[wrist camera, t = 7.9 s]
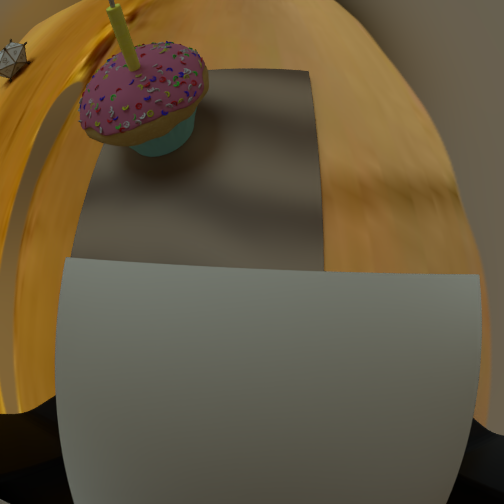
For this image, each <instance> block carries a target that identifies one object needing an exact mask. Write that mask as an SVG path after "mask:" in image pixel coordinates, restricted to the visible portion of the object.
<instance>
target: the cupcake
mask: <svg viewBox="0 0 504 504" xmlns="http://www.w3.org/2000/svg"><path fill="white" fill-rule="evenodd" d="M109 3H110V7H108V8H107V10H106V11H107V14H108V17H109V19H110V22H111V25H112V28H113V30H114V33H115V35H116V38H117V41H118V43H119V46H120V48H121V53H118V54H117V55H112V58H110V59H108V60H107V63H106V64H104V65H103V66H102V67H101V68H100V69H98V70H97V71H96V74H95V75H93V77H92V79H91V81H90V82H89V84H87V86H86V90H85V92H83V94H82V98H81V99H80V102H79V104H80V108H79V110H78V111H80V120H79V122H80V123H81V126H82V128H83V129H84V130H85V131H86V133H87V135H88V136H89V137H90V138H92V139H94V140H97V141H99V142H102V143H105V144H109V145H113V146H124V147H130V148H132V149H133V150H135V151H136V152H138V153H139V154H141V155H143V156H148V157H157V156H162V155H165V154H168V153H170V152H173V151H174V150H176V149H178V148H179V147H180V146H182V145H183V144H184V143H185V142H186V141H187V140H188V138H189V137H190V135H191V133H192V131H193V128H194V119H195V113H196V109H197V106H198V104H199V103H200V102H201V100H202V99H203V98H204V96H205V95H206V93H207V92H208V89H209V74H208V70H207V67H206V66H205V63H204V61H203V59H202V58H201V57H200V55H199V54H198V52H197V51H196V49H195V51H194V50H193V49H192V48H188V47H185V46H183V45H181V44H174V43H173V42H167V41H166V43H164V42H161V43H155V44H154V42H153V43H151V44H149V45H145V44H142V45H137V46H135V47H134V45H133V42H132V39H131V37H130V34H129V31H128V27H127V24H126V21H125V18H124V15H123V12H122V9H121V6H120V4H115V3H114V0H109Z"/></svg>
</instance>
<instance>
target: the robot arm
mask: <svg viewBox="0 0 504 504" xmlns="http://www.w3.org/2000/svg"><path fill="white" fill-rule="evenodd" d="M0 504H74V501H73V498H72V494H71V490H70V487H69V483H68V478H67V474H66V469H65V465H64V459H63V454H62V448H61V442H60V434H59V426H58V417H57V405H56V395H55V396H54V397H52V398H51V399H49V400H47V401H46V402H44V403H43V404H41V405H39V406H38V407H36V408H34V409H32V410H30V411H28V412H24V413H20V414H0ZM446 504H504V436H503V435H499V434H496V433H493V432H491V431H489V430H487V429H486V428H485V427H483V426H482V425H481V424H480V423H479V422H477V421H476V420H475V419H474V418H473V419H472V424H471V428H470V433H469V437H468V441H467V445H466V449H465V452H464V456H463V459H462V462H461V465H460V468H459V471H458V474H457V477H456V480H455V483H454V485H453V488H452V491H451V493H450V496H449V498H448V500H447V503H446Z"/></svg>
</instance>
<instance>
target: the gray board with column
mask: <svg viewBox="0 0 504 504" xmlns="http://www.w3.org/2000/svg"><path fill="white" fill-rule="evenodd" d="M208 74H209V89H208V92H207V93H206V95H205V96H204V98H203V99H202V100H201V102H200V103H199V104H198V106H197V109H196V113H195V119H194V128H193V131H192V133H191V135H190V137H189V138H188V140H187V141H186V142H185V143H184V144H183V145H182V146H180V147H179V148H178V149H176V150H174V151H173V152H170V153H168V154H165V155H162V156H157V157H148V156H143V155H141V154H139V153H138V152H136V151H135V150H133V149H132V148H130V147H124V146H113V145H109V144H105V143H104V145H103V147H102V150H101V152H100V155H99V158H98V160H97V163H96V166H95V169H94V172H93V174H92V177H91V181H90V184H89V187H88V190H87V193H86V197H85V200H84V203H83V207H82V211H81V214H80V218H79V222H78V226H77V230H76V234H75V239H74V243H73V248H72V253H71V258H69V257H66V259H65V265H64V270H63V276H62V283H61V290H60V298H59V306H58V316H57V329H56V348H55V387H56V405H57V417H58V426H59V434H60V442H61V448H62V454H63V459H64V465H65V469H66V474H67V478H68V483H69V487H70V490H71V494H72V498H73V501H74V504H446V503H447V500H448V498H449V496H450V493H451V491H452V488H453V485H454V483H455V480H456V477H457V474H458V471H459V468H460V465H461V462H462V459H463V456H464V452H465V449H466V445H467V441H468V437H469V433H470V428H471V424H472V419H473V414H474V409H475V403H476V396H477V389H478V381H479V372H480V360H481V338H482V313H481V292H480V279H479V275H468V274H395V273H355V272H324V256H323V220H322V198H321V182H320V168H319V155H318V144H317V134H316V124H315V116H314V107H313V99H312V92H311V85H310V78H309V71H301V70H286V69H219V70H208Z"/></svg>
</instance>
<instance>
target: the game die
mask: <svg viewBox="0 0 504 504" xmlns="http://www.w3.org/2000/svg"><path fill="white" fill-rule="evenodd" d="M26 44H27V42H25V43H24V44H19V43H13V42H12V39H11V40H10V43H9V44H8V45H7V46H6V47H5V48H4V49H3V50H2V51H1V52H0V76H2V77H6V78H10V82H11V81H12V79H11V78H12V77H13V76H14V75H15V74H16V73H17V72H18V71H19V70H20V69H21V68H22V67H23V66H24V65H25V64H26V63H27V64H29V63H30V62H27V59H26V52H25V45H26Z"/></svg>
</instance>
